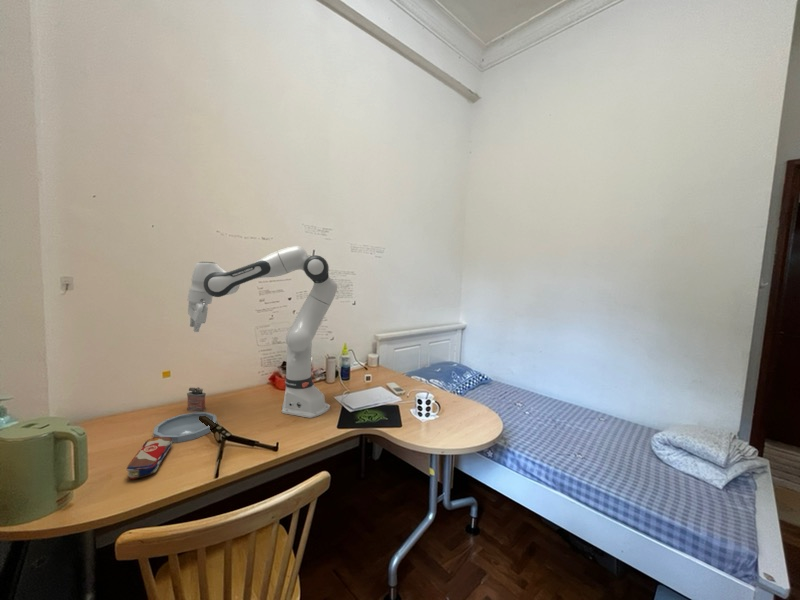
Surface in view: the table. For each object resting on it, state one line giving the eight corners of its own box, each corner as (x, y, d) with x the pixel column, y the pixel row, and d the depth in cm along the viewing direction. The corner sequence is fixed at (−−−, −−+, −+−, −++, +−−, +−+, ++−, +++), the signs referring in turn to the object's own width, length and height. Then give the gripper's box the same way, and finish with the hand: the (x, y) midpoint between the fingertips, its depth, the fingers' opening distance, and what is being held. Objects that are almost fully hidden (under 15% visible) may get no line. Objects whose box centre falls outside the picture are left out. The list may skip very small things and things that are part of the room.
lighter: (207, 408, 138) (207, 387, 137) (202, 412, 135) (201, 389, 134) (191, 407, 139) (190, 385, 138) (185, 410, 135) (184, 388, 135)
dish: (227, 424, 125) (227, 419, 124) (173, 448, 107) (173, 442, 106) (197, 413, 133) (197, 408, 133) (142, 433, 115) (142, 428, 115)
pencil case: (186, 446, 109) (186, 432, 109) (148, 482, 90) (148, 466, 89) (152, 446, 108) (152, 433, 107) (106, 484, 88) (106, 467, 88)
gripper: (213, 302, 127) (207, 335, 127) (204, 295, 142) (198, 324, 142) (196, 300, 123) (189, 334, 123) (187, 293, 138) (182, 323, 138)
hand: (194, 329), depth 133 cm, fingers open, 8 cm apart
